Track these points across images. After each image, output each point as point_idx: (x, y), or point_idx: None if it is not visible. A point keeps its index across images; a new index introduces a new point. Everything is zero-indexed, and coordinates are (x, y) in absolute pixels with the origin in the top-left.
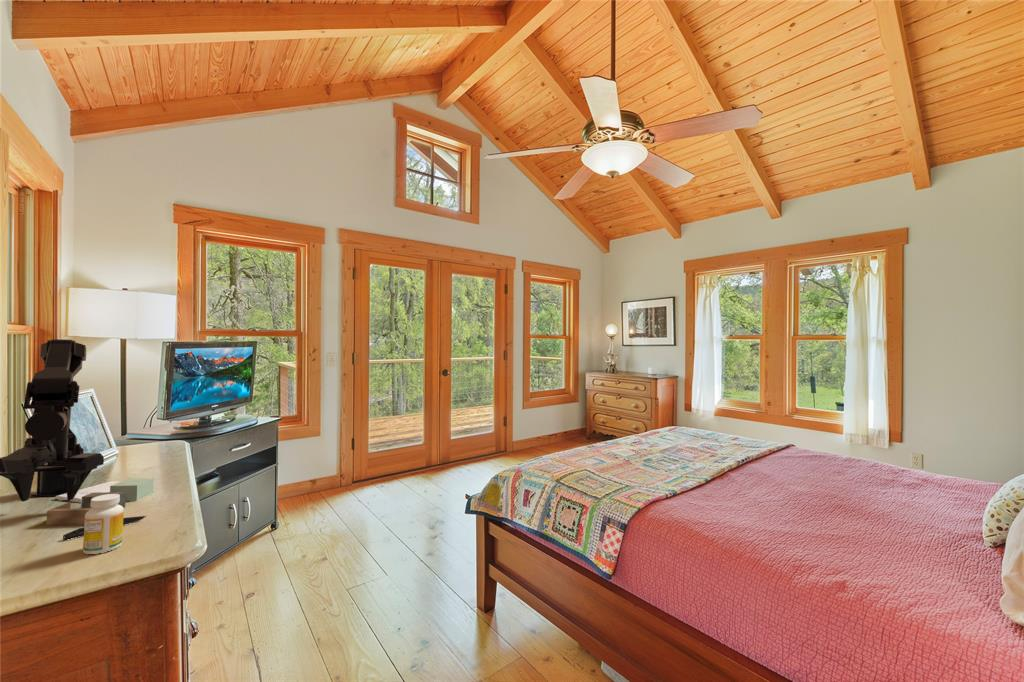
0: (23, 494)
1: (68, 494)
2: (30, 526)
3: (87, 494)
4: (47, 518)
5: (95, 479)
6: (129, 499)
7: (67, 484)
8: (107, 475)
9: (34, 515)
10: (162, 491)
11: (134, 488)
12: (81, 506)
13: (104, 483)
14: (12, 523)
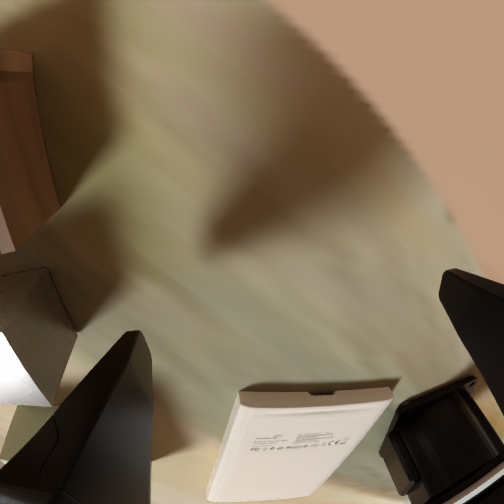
0: (475, 296)
1: (116, 360)
2: (116, 17)
3: (268, 438)
4: (4, 51)
5: (384, 478)
6: (37, 410)
7: (83, 437)
8: (374, 492)
9: (305, 203)
10: None
11: (10, 448)
12: (31, 289)
13: (312, 486)
14: (305, 57)
